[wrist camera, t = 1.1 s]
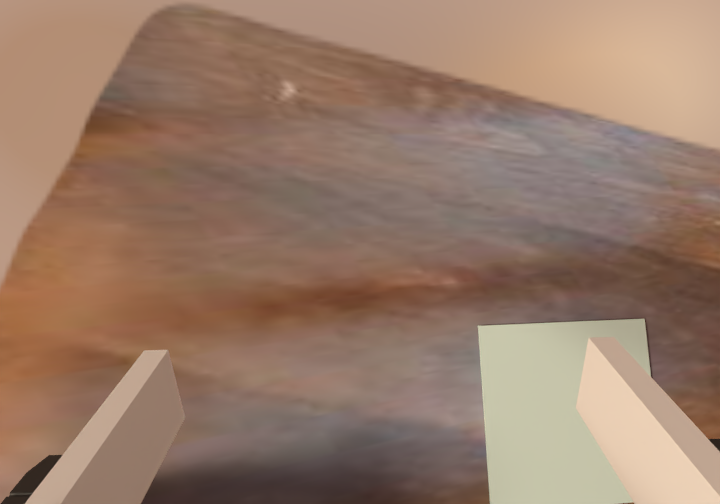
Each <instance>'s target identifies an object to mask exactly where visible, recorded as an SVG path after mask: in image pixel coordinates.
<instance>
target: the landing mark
mask: <svg viewBox="0 0 720 504" xmlns="http://www.w3.org/2000/svg"><path fill="white" fill-rule="evenodd" d="M478 333H479V348H480V363H481V378H482V393H483V408H484V423H485V437H486V452H487V467H488V482H489V497H490V504H618V503H630V502H633V500H632V498H631V497H630V495H629V494H628V492H627V490H626V489H625V487H624V485H623V484H622V482H621V481H620V479H619V477H618V476H617V474H616V472H615V471H614V469H613V468H612V466H611V464H610V463H609V461H608V460H607V458H606V456H605V455H604V453H603V451H602V450H601V448H600V447H599V445H598V443H597V442H596V440H595V438H594V437H593V435H592V434H591V432H590V430H589V429H588V427H587V425H586V424H585V422H584V421H583V419H582V417H581V416H580V414H579V412H578V411H577V409H576V404H577V398H578V393H579V387H580V382H581V377H582V371H583V366H584V360H585V355H586V349H587V344H588V339H589V338H592V337H614V338H615V339H616V340H617V341H618V342H619V343H620V344H621V345H622V346H623V347H624V348H625V349H626V351H627V352H628V353H629V354H630V355H631V356H632V357H633V358H634V359H635V360H636V361H637V362H638V364H639V365H640V366H641V367H642V368H643V369H644V370H645V371H646V372H647V373H648V374H649V376H650V377H651V372H650V363H649V354H648V345H647V336H646V327H645V319H622V320H598V321H575V322H552V323H529V324H506V325H483V326H478Z"/></svg>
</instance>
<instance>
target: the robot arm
mask: <svg viewBox="0 0 720 504" xmlns="http://www.w3.org/2000/svg"><path fill="white" fill-rule="evenodd" d="M576 409H577V411H578V412H579V414H580V416H581V417H582V419H583V421H584V422H585V424H586V425H587V427H588V429H589V430H590V432H591V434H592V435H593V437H594V438H595V440H596V442H597V443H598V445H599V447H600V448H601V450H602V451H603V453H604V455H605V456H606V458H607V460H608V461H609V463H610V464H611V466H612V468H613V469H614V471H615V472H616V474H617V476H618V477H619V479H620V481H621V482H622V484H623V485H624V487H625V489H626V490H627V492H628V494H629V495H630V497H631V498H632V500H633V502H634V503H635V504H720V439H708V438H707V437H706V436H705V435H704V434H703V433H702V432H701V431H700V430H699V429H698V428H697V427H696V425H695V424H694V423H693V422H692V421H691V420H690V419H689V418H688V417H687V416H686V415H685V414H684V412H683V411H682V410H681V409H680V408H679V407H678V406H677V405H676V404H675V403H674V402H673V400H672V399H671V398H670V397H669V396H668V395H667V394H666V393H665V392H664V391H663V390H662V389H661V387H660V386H659V385H658V384H657V383H656V382H655V381H654V380H653V379H652V378H651V377H650V376H649V374H648V373H647V372H646V371H645V370H644V369H643V368H642V367H641V366H640V365H639V364H638V362H637V361H636V360H635V359H634V358H633V357H632V356H631V355H630V354H629V353H628V352H627V351H626V349H625V348H624V347H623V346H622V345H621V344H620V343H619V342H618V341H617V340H616V339H615V338H614V337H592V338H589V339H588V344H587V349H586V355H585V360H584V366H583V371H582V377H581V382H580V387H579V393H578V398H577V404H576ZM184 419H185V415H184V411H183V407H182V403H181V399H180V395H179V391H178V387H177V383H176V379H175V375H174V371H173V367H172V363H171V359H170V355H169V351H168V350H146V351H144V352H143V353H142V354H141V355H140V357H139V358H138V359H137V361H136V362H135V363H134V364H133V366H132V367H131V368H130V369H129V371H128V372H127V373H126V375H125V376H124V377H123V378H122V380H121V381H120V382H119V384H118V385H117V386H116V387H115V389H114V390H113V391H112V393H111V394H110V395H109V396H108V398H107V399H106V400H105V401H104V403H103V404H102V405H101V407H100V408H99V409H98V410H97V412H96V413H95V414H94V416H93V417H92V418H91V419H90V421H89V422H88V423H87V425H86V426H85V427H84V428H83V430H82V431H81V432H80V434H79V435H78V436H77V437H76V439H75V440H74V441H73V442H72V444H71V445H70V446H69V448H68V449H67V450H66V451H65V453H64V454H63V455H49V456H48V457H46V458H45V459H44V460H42V461H41V462H40V463H39V464H37V465H36V466H35V467H33V468H32V469H31V470H30V471H28V472H27V473H26V474H25V475H24V477H23V478H22V479H21V480H20V481H19V483H18V484H17V485H16V486H15V487H14V489H13V490H12V491H11V492H10V496H9V497H6V498H5V499H4V500H3V502H2V503H1V504H141V502H142V501H143V499H144V497H145V495H146V493H147V491H148V489H149V487H150V485H151V483H152V481H153V479H154V477H155V475H156V473H157V471H158V469H159V467H160V466H161V464H162V462H163V460H164V458H165V456H166V454H167V452H168V450H169V448H170V446H171V444H172V442H173V440H174V438H175V436H176V434H177V432H178V431H179V429H180V427H181V425H182V423H183V421H184Z"/></svg>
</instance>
